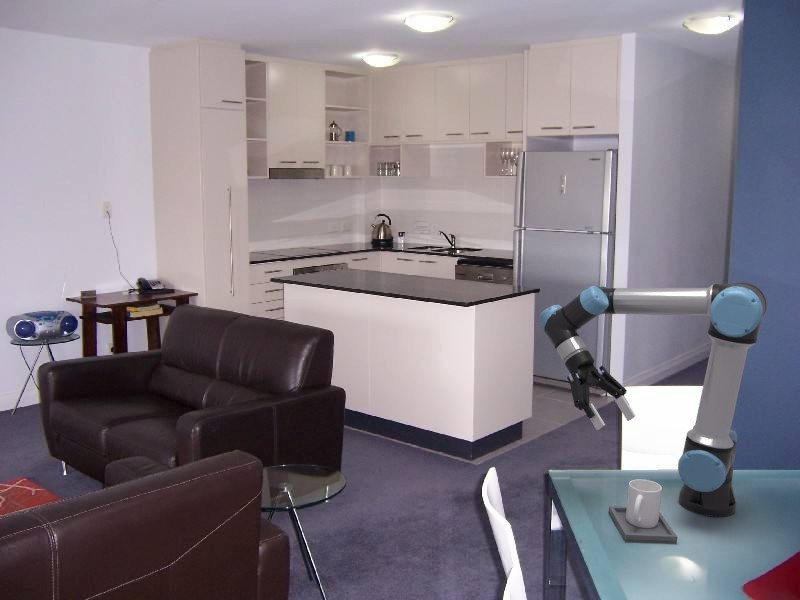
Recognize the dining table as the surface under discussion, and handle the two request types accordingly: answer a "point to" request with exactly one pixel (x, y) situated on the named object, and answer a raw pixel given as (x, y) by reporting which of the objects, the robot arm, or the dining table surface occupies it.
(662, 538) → the tray
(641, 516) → the mug
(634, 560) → the dining table surface
